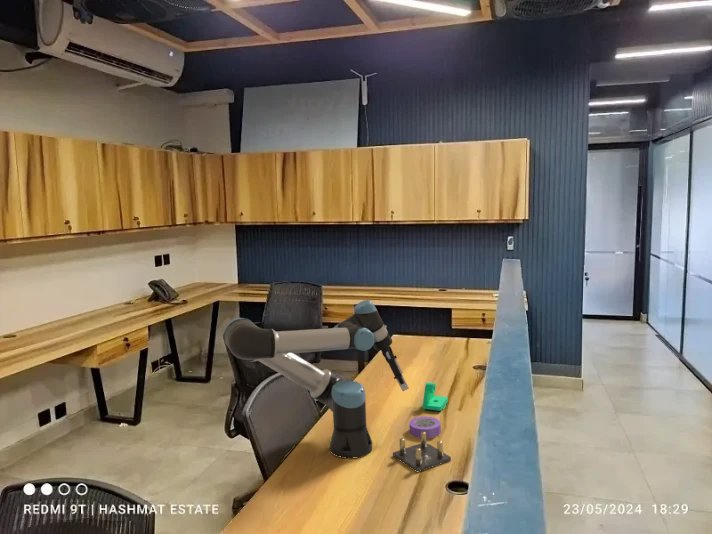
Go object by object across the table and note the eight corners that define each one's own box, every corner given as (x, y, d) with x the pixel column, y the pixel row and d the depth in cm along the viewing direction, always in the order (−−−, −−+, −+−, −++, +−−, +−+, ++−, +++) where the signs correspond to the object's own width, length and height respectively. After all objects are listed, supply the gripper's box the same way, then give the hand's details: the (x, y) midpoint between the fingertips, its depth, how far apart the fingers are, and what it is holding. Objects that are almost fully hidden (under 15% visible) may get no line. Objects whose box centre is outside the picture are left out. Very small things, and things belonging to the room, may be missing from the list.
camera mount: (440, 413, 218) (439, 389, 217) (422, 411, 221) (422, 387, 220) (448, 403, 229) (447, 379, 228) (431, 401, 232) (430, 378, 231)
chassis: (417, 472, 171) (416, 454, 170) (392, 455, 183) (392, 438, 182) (451, 460, 178) (450, 442, 177) (425, 445, 190) (424, 428, 189)
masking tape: (423, 441, 193) (422, 431, 193) (403, 431, 203) (403, 421, 202) (447, 433, 199) (447, 423, 199) (427, 423, 209) (426, 414, 209)
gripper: (393, 345, 192) (417, 392, 198) (383, 321, 217) (405, 363, 222) (375, 354, 193) (399, 401, 198) (367, 329, 217) (389, 371, 222)
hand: (402, 381), depth 210 cm, fingers open, 13 cm apart
